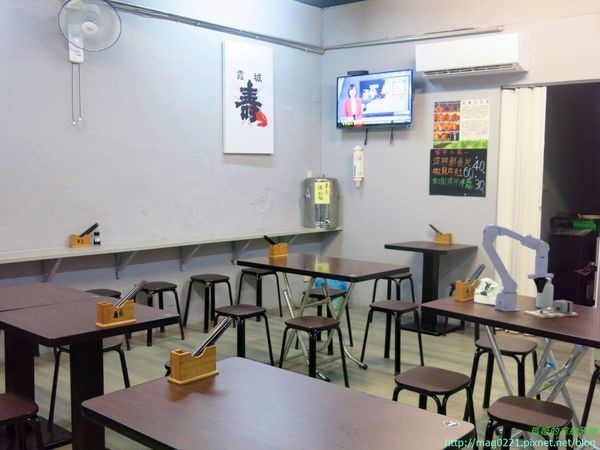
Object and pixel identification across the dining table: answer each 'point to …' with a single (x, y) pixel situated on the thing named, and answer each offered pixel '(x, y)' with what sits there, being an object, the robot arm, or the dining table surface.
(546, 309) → the bolt board
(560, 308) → the grey block with hole
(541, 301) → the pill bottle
